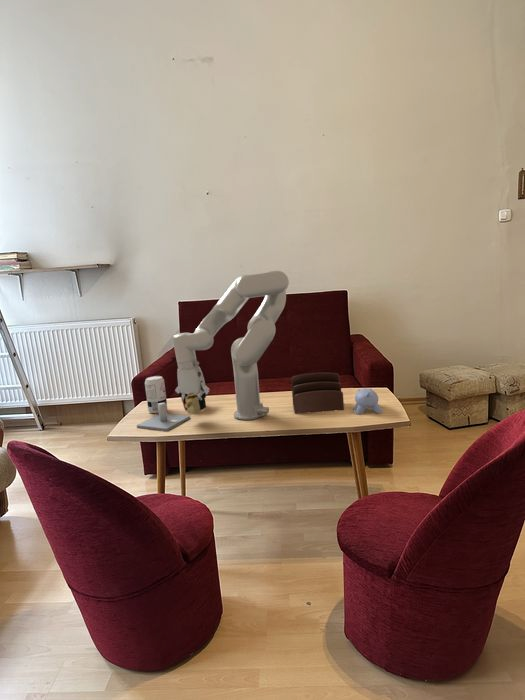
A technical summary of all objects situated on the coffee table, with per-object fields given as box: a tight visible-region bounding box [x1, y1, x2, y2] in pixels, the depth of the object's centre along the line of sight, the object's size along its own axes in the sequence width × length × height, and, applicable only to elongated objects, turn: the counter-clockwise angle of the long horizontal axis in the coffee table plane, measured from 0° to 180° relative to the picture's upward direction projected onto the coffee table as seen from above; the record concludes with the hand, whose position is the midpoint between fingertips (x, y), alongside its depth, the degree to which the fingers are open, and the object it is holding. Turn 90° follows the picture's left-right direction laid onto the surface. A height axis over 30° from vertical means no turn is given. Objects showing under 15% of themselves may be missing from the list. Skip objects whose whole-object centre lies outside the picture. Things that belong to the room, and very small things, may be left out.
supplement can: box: [144, 375, 168, 414], centre depth 196 cm, size 8×8×15 cm
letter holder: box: [290, 371, 345, 414], centre depth 183 cm, size 10×20×14 cm, turn 90°
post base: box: [136, 403, 191, 432], centre depth 181 cm, size 15×15×8 cm
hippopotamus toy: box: [352, 387, 383, 415], centre depth 177 cm, size 11×15×10 cm
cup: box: [185, 394, 206, 415], centre depth 176 cm, size 9×7×6 cm
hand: (195, 408), depth 178 cm, fingers closed on cup, 6 cm apart
